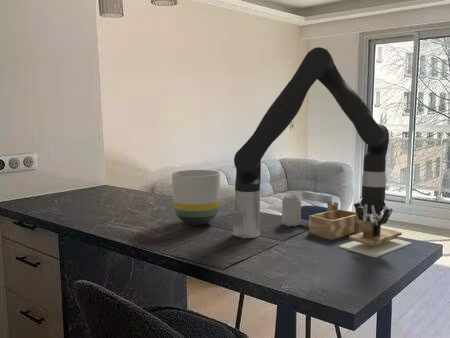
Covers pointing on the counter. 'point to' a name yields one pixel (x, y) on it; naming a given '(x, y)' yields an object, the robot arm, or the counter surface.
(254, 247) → the counter surface
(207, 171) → the planter
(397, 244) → the mat
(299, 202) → the can
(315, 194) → the bolt
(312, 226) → the toolbox
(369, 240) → the lid
